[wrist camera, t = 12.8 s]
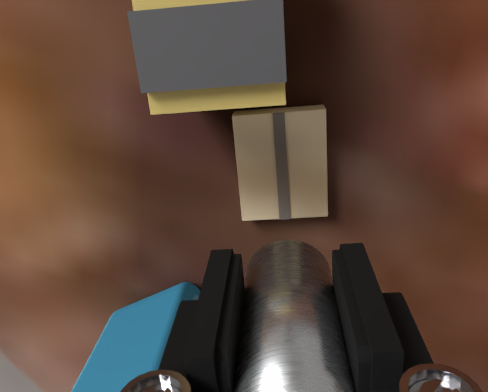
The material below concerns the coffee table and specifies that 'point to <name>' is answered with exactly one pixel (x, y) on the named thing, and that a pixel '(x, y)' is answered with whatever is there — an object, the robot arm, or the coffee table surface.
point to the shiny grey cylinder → (291, 324)
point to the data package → (133, 340)
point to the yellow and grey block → (209, 53)
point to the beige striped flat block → (281, 162)
